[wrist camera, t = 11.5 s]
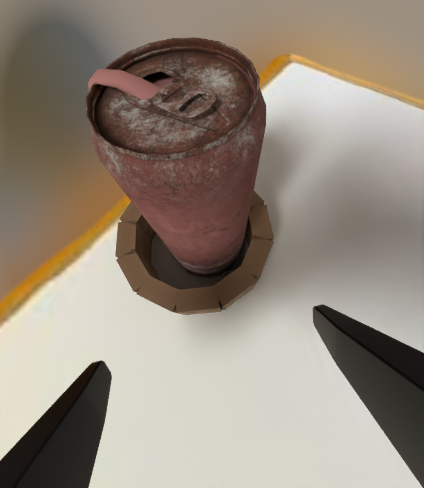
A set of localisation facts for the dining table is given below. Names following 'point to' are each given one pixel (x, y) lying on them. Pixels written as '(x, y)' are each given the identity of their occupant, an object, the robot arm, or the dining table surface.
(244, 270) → the walnut ring
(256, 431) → the dining table surface
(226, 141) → the can
